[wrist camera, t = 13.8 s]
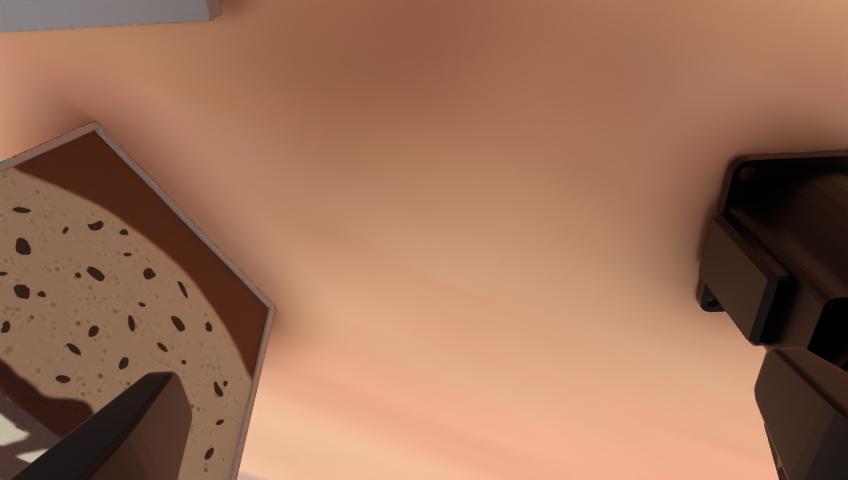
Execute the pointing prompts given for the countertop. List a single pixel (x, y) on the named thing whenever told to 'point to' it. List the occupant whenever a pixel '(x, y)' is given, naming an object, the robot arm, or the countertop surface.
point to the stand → (101, 13)
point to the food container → (117, 305)
